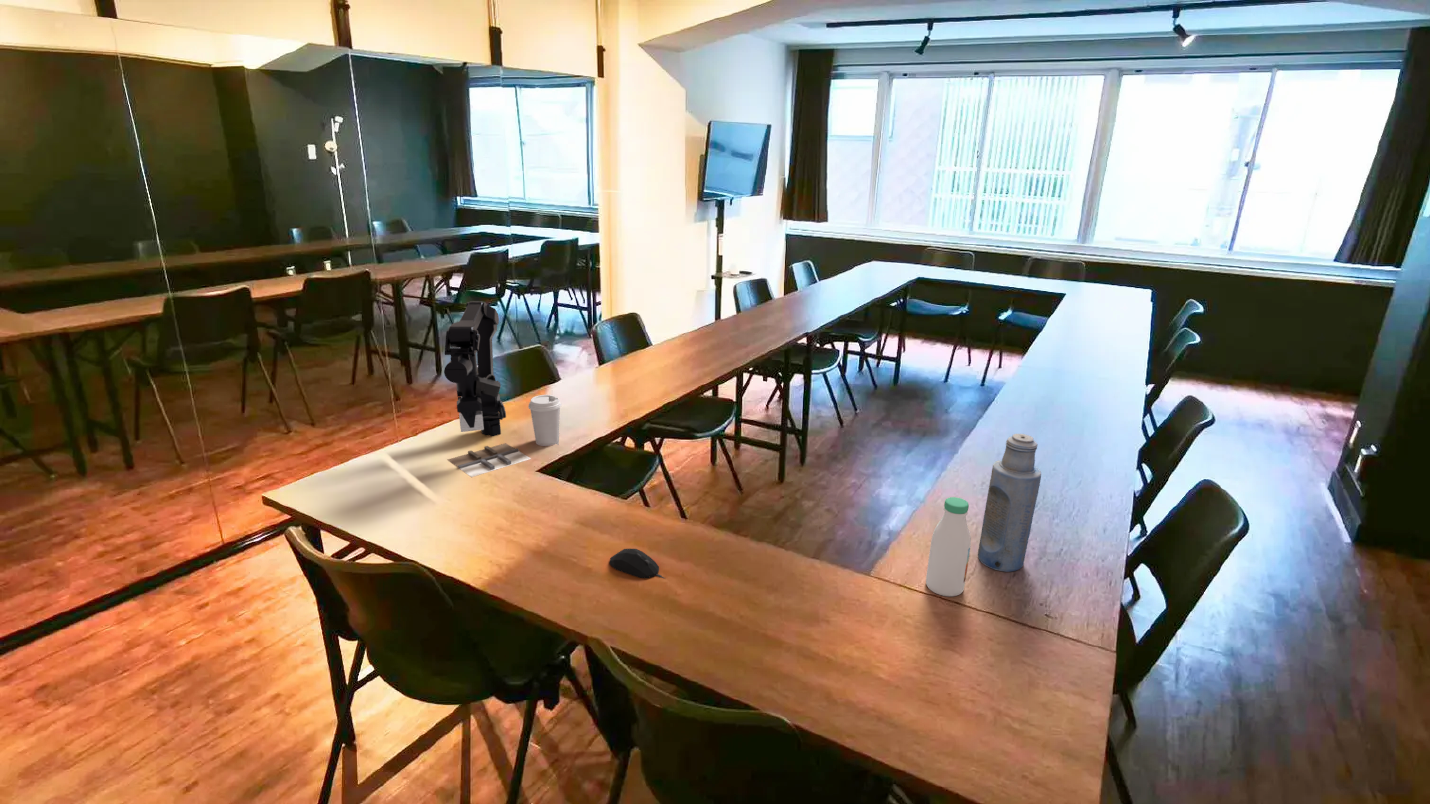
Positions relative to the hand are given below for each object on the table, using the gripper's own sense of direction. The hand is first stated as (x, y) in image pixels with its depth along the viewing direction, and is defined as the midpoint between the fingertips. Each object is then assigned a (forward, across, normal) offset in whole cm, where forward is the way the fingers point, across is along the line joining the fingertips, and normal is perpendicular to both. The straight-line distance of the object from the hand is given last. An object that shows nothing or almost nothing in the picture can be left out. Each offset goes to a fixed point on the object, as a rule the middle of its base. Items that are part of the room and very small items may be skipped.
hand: (471, 425), depth 197 cm
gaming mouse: (+13, -65, -32) cm, 73 cm away
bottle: (+13, -86, -109) cm, 140 cm away
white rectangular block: (+1, 0, 0) cm, 1 cm away
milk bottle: (+13, -90, -91) cm, 129 cm away
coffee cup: (+12, +8, -21) cm, 26 cm away
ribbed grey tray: (+12, 0, -4) cm, 13 cm away
